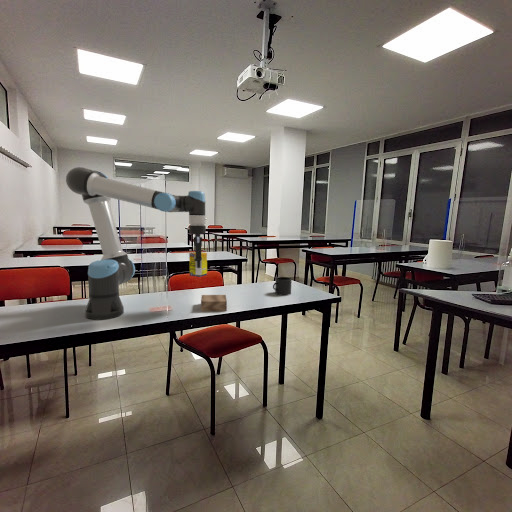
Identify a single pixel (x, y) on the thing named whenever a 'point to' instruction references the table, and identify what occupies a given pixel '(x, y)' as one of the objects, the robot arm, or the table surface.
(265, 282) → the table surface
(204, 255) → the supplement box
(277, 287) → the mug
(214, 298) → the walnut block
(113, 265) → the robot arm
